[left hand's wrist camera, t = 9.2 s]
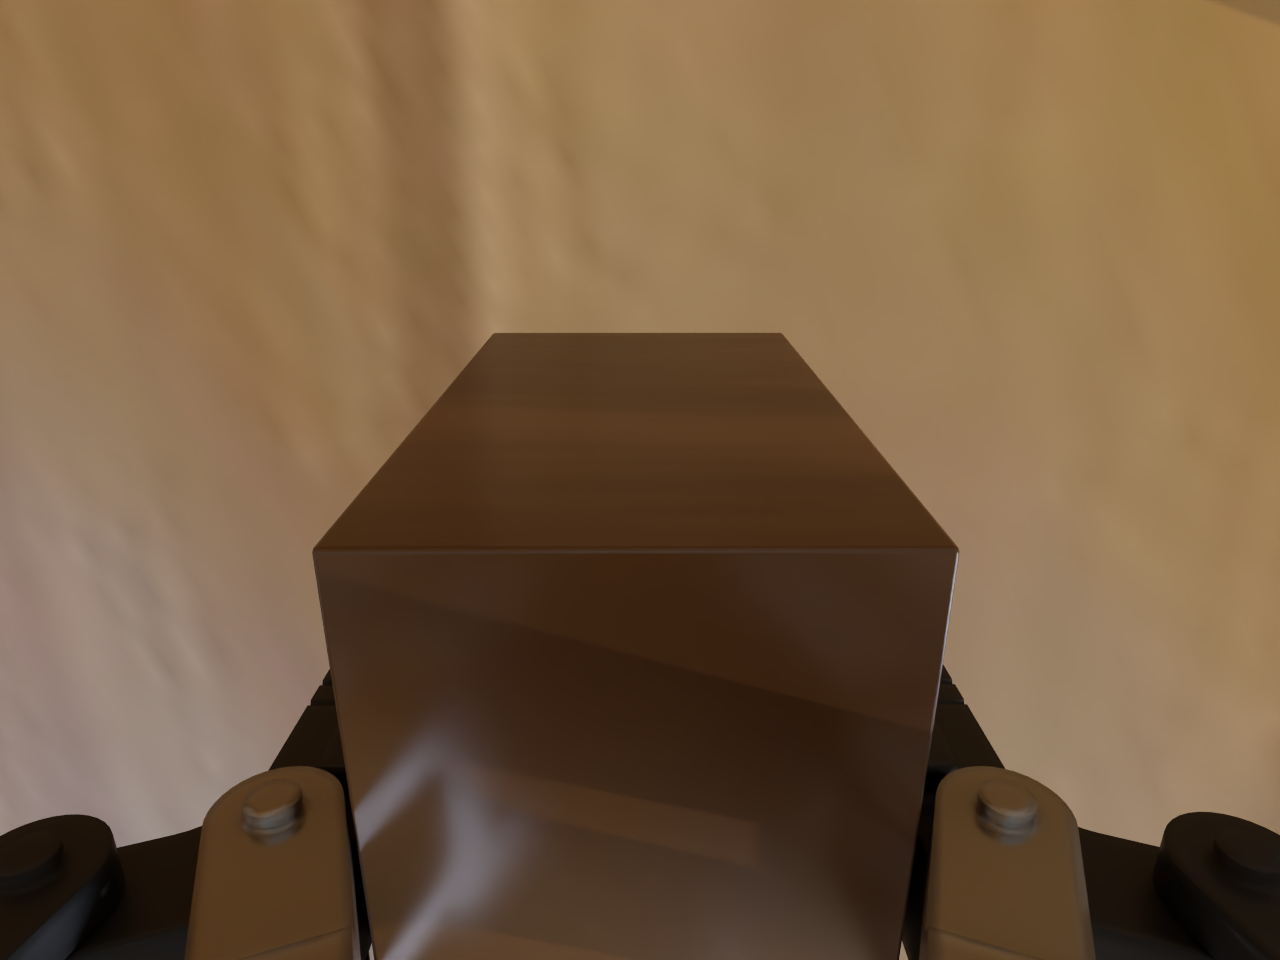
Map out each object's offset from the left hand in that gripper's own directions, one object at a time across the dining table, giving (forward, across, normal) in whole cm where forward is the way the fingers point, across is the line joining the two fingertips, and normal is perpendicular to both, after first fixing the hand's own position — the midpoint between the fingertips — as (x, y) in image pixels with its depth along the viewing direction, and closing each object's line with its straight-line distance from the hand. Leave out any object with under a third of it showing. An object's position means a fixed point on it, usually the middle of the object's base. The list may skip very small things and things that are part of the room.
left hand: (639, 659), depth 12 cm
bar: (+4, 0, -9) cm, 10 cm away
